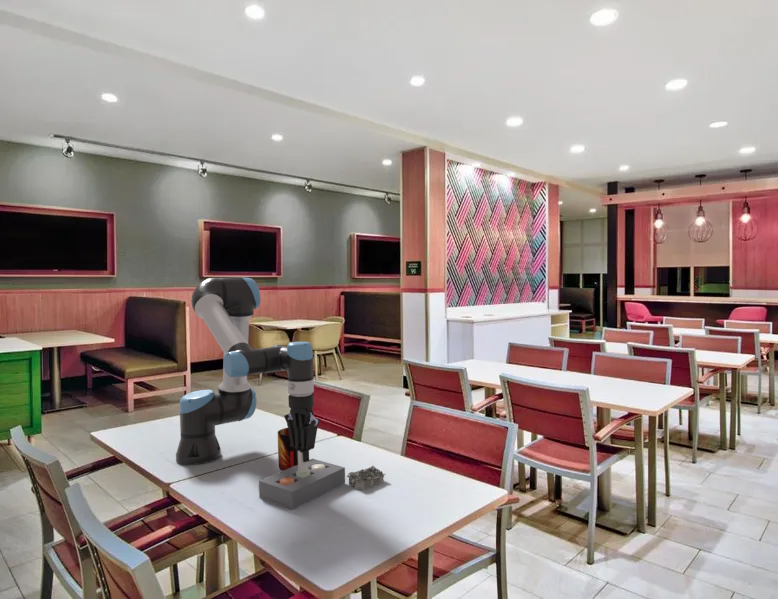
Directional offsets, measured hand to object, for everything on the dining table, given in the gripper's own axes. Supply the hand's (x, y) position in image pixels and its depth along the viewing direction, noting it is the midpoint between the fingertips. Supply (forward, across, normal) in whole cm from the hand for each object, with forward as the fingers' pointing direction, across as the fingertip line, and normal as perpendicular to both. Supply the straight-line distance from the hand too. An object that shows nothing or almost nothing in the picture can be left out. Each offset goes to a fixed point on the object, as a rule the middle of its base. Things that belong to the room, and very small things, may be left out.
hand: (303, 471), depth 158 cm
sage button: (+4, 0, 0) cm, 4 cm away
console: (+6, 0, 0) cm, 6 cm away
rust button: (+4, 0, -6) cm, 7 cm away
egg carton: (+6, +12, +15) cm, 20 cm away
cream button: (+4, 0, +7) cm, 8 cm away
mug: (+6, -16, +12) cm, 21 cm away
